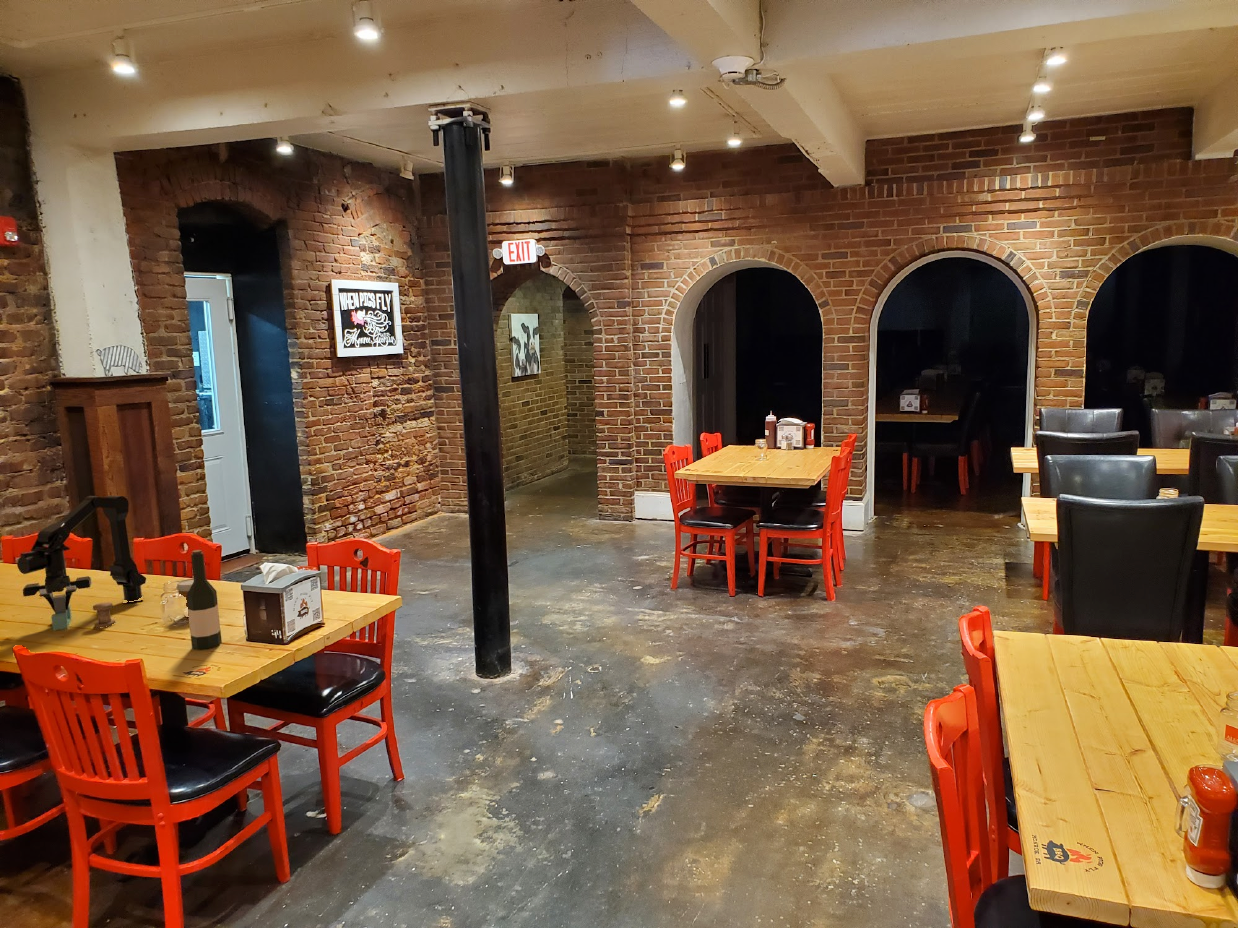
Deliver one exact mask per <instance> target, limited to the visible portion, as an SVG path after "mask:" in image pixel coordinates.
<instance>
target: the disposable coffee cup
mask: <svg viewBox="0 0 1238 928" xmlns="http://www.w3.org/2000/svg"><path fill="white" fill-rule="evenodd" d="M193 582H194V578H193V577H192V578H187V579H182V580H180V581H178V582H177V583H176V584H177V585H176V586H175V587H176V588H175V589H177V592H178V595H179V594H181V595H183V596H184V597H186V596H187V594H188V592H189V590H190V588H191V586H192V584H193ZM186 600H187V598H186ZM186 606H187V603H186Z"/></svg>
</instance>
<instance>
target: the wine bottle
mask: <svg viewBox="0 0 1238 928" xmlns="http://www.w3.org/2000/svg"><path fill="white" fill-rule="evenodd" d="M191 552H192V553H191V555H190V558H191V559H190V560H191V567H192V578H194V582H193V584H192V586H191V588H190V590H189V592H188V594H187V596H186V598H187V607H188V616H189V618H188V622H189V623H188V626H189V631H190V632H189V633H190V642H191V648H192V649H193V650H196V651H205V650H211V649H214V648H217V647H219V646H221V644H222V643H223V640H222V631H221V623H220V614H219V604H218V595H217V590H216V588H214V586H213V585H212V584H211V583H210V582H209V580H208V579H207V574H206V566H205V556H204V555H205V554H204V552H202V550H201V549H195V550H193V551H191Z"/></svg>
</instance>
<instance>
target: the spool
mask: <svg viewBox="0 0 1238 928" xmlns="http://www.w3.org/2000/svg"><path fill="white" fill-rule="evenodd" d="M112 608H113V602H100V603H97V604H94V605H93V606H92V610H93V611H96V614H97V622H94V628H95V627H97V628H96V629H101V628H100V627H105V628H107V627H106V626H110V625H112V624H114V623H116V619H113V618H111V610H110V609H112ZM110 627H111V626H110Z"/></svg>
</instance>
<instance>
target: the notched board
mask: <svg viewBox="0 0 1238 928" xmlns="http://www.w3.org/2000/svg"><path fill="white" fill-rule="evenodd" d="M71 618H72V619H73V616H72V609H71V605H70V604H69V607H68V610H67V612H66V613H59V614H55V613H53V614H51V625H52V631H53V632H54V631H59V630H58V629H61V630H67V629H68V628H69V626H70V624H69V623H71V622H70V621H72V619H71ZM66 628H67V629H66Z"/></svg>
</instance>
